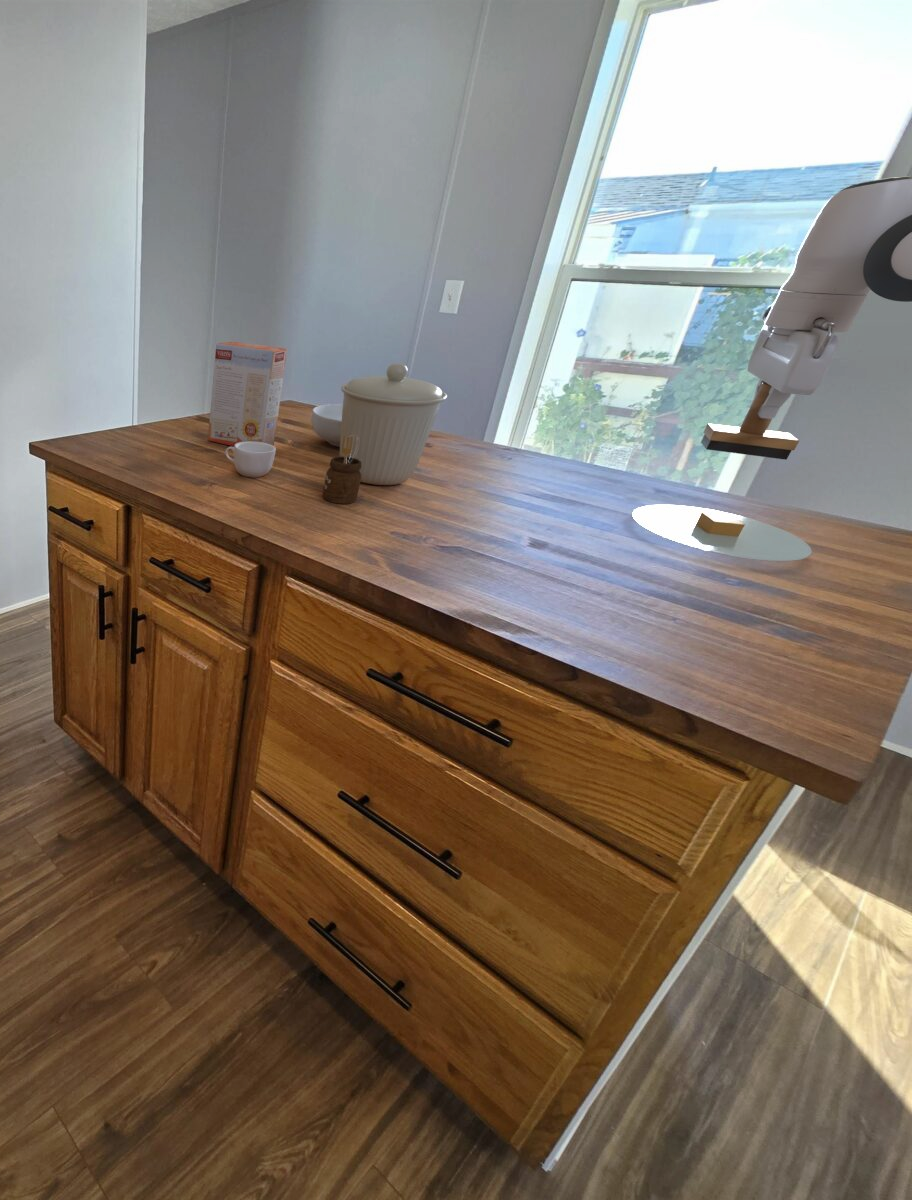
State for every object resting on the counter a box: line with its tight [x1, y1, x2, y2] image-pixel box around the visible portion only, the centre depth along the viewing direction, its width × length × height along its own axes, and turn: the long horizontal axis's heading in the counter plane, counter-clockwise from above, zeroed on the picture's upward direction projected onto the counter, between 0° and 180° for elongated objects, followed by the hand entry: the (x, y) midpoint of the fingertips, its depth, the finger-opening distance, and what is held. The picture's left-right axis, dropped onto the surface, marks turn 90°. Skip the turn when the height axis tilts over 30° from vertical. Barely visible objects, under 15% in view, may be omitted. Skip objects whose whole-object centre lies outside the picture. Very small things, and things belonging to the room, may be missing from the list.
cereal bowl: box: [310, 403, 343, 448], centre depth 146 cm, size 17×17×7 cm
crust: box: [696, 512, 745, 536], centre depth 102 cm, size 4×4×2 cm
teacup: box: [224, 441, 277, 479], centre depth 127 cm, size 10×8×5 cm
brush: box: [700, 382, 800, 461], centre depth 99 cm, size 10×5×10 cm, turn 60°
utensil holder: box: [322, 435, 362, 505], centre depth 113 cm, size 6×6×12 cm
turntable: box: [631, 504, 813, 562], centre depth 103 cm, size 22×22×2 cm
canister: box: [339, 363, 448, 486], centre depth 122 cm, size 18×18×21 cm
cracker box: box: [207, 341, 288, 447], centre depth 140 cm, size 14×6×21 cm, turn 46°
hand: (760, 414), depth 99 cm, fingers closed on brush, 3 cm apart
